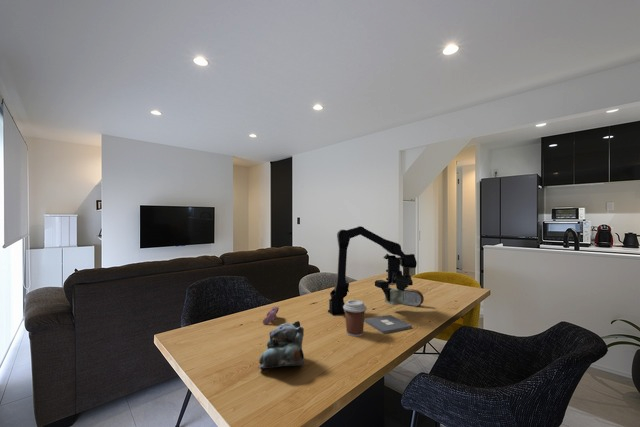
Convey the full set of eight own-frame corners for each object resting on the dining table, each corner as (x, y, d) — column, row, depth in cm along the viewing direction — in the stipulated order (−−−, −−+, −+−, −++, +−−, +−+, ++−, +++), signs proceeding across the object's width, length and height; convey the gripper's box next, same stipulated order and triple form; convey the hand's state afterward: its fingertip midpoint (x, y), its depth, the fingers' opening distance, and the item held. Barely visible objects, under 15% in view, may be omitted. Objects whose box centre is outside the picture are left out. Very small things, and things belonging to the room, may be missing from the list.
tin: (423, 306, 141) (423, 290, 141) (422, 308, 138) (422, 291, 138) (394, 302, 149) (394, 286, 149) (393, 303, 146) (393, 287, 146)
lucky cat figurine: (249, 369, 81) (255, 319, 88) (278, 370, 89) (281, 324, 96) (285, 369, 73) (289, 314, 80) (313, 370, 81) (315, 320, 88)
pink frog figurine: (270, 328, 116) (278, 313, 116) (261, 323, 116) (268, 308, 116) (275, 320, 126) (281, 306, 126) (266, 315, 126) (273, 301, 126)
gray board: (383, 333, 107) (383, 330, 107) (364, 321, 120) (364, 318, 120) (411, 328, 113) (411, 325, 113) (390, 317, 125) (390, 314, 125)
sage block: (392, 305, 128) (392, 292, 129) (385, 301, 134) (385, 289, 134) (403, 303, 131) (403, 291, 131) (395, 300, 136) (394, 288, 137)
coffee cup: (366, 339, 102) (366, 306, 103) (341, 336, 104) (341, 305, 104) (367, 329, 111) (366, 299, 111) (344, 327, 113) (344, 298, 113)
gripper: (388, 272, 122) (388, 307, 121) (420, 269, 129) (421, 303, 129) (373, 268, 132) (374, 301, 132) (404, 266, 139) (404, 296, 139)
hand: (393, 300), depth 132 cm, fingers closed on sage block, 6 cm apart
